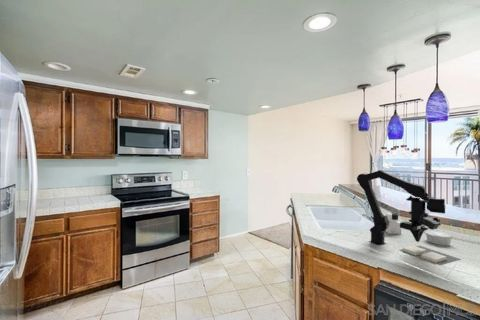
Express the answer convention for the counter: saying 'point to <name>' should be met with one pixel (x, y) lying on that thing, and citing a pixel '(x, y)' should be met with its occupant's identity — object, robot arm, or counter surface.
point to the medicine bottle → (393, 224)
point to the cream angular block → (433, 257)
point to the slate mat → (449, 258)
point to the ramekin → (438, 237)
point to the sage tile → (414, 250)
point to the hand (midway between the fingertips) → (417, 241)
